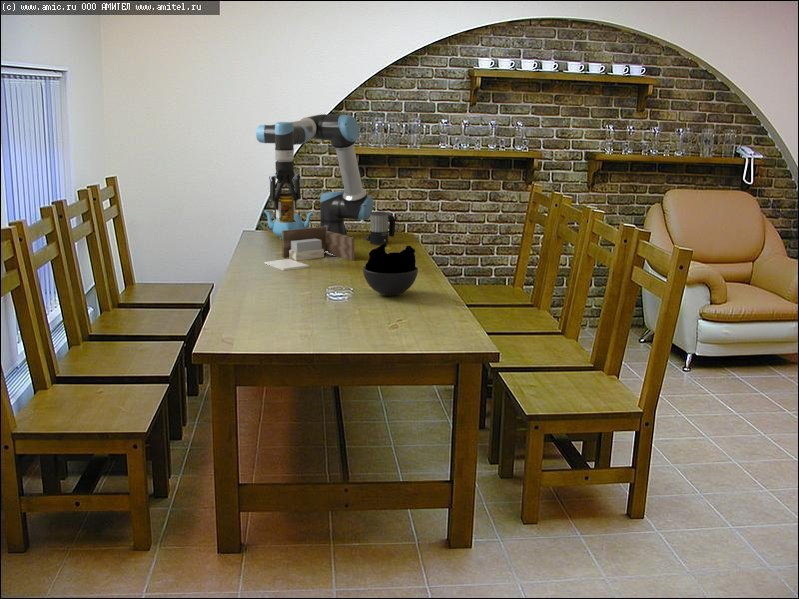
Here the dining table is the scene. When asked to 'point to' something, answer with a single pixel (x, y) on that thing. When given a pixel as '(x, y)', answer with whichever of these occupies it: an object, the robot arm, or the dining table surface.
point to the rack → (330, 241)
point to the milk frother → (380, 228)
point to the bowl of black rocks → (390, 270)
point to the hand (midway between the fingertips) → (285, 216)
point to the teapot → (287, 224)
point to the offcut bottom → (306, 254)
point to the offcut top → (306, 245)
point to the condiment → (286, 208)
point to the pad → (286, 264)
